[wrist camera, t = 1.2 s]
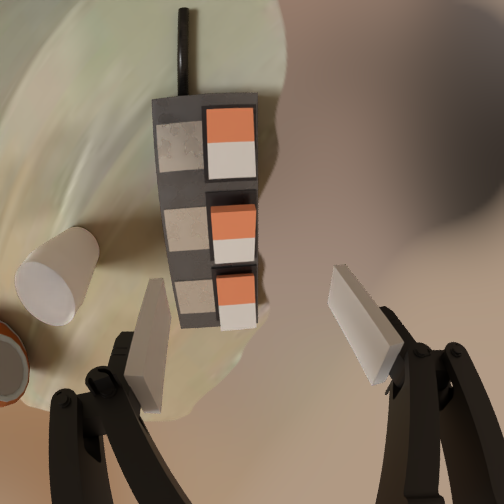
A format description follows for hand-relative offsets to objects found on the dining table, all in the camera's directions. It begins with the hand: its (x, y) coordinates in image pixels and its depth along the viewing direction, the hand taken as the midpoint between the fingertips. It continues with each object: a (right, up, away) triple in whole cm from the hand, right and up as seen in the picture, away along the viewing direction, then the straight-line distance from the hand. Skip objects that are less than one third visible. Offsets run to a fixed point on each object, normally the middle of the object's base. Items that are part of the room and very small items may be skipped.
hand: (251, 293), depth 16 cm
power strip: (-5, +12, +17) cm, 22 cm away
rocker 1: (-2, +13, +11) cm, 17 cm away
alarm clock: (-54, -17, +25) cm, 62 cm away
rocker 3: (-2, -4, +20) cm, 20 cm away
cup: (-25, +3, +20) cm, 32 cm away
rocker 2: (-2, +5, +16) cm, 16 cm away
